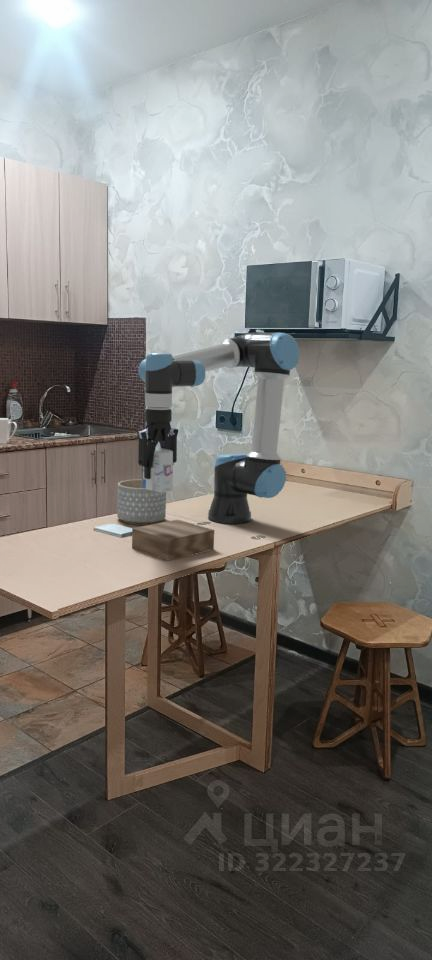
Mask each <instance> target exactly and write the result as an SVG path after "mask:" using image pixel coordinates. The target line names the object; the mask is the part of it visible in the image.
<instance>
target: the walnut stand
mask: <svg viewBox="0 0 432 960" xmlns="http://www.w3.org/2000/svg"><path fill="white" fill-rule="evenodd" d="M131 528H132V535H131V537H132V538H131V539H132V540H131V549H134V550H137V551H140V552H143V553H145V554H148V555H152V556H154V557H156V558H160V559H163V560H165V561H168V562H169V561H173V560H177V559H180V558H181V559H182V558H186V557H188V556H193V555H197V554H196V553H198V554H201V552H202V553H205V551H206V552H209V551H214V550H215V549H214V548H215V547H214V546H215V529H211V528H209V527H205V526H203V525H199V524H195V523H192V522H188V521H184V520H180V519H174V520H169V521H163V522H158V523H155V524H149V525H142V526H137V527H131ZM192 554H193V555H192Z"/></svg>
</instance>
